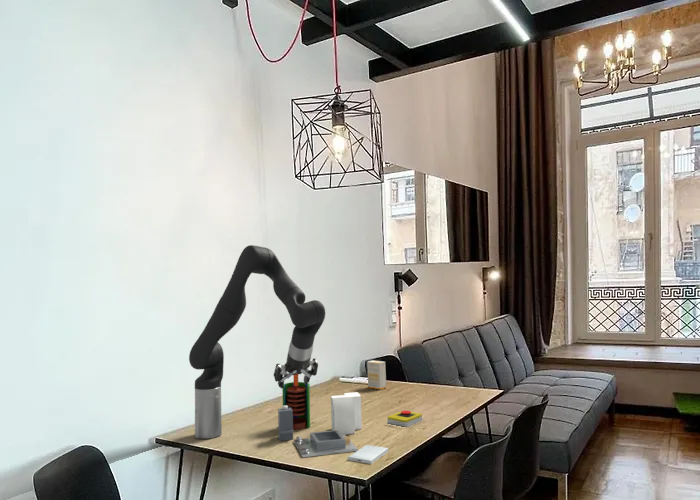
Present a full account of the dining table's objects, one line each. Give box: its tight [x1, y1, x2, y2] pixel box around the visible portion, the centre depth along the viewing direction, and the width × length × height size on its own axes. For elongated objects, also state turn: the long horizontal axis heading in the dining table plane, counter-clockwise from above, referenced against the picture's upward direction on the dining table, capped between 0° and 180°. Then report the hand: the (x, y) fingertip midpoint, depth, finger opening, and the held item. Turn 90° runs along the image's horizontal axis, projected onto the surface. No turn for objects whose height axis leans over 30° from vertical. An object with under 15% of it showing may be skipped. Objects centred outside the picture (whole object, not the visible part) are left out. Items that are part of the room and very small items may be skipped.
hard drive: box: [347, 444, 389, 465], centre depth 169 cm, size 2×8×12 cm
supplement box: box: [366, 359, 387, 391], centre depth 265 cm, size 8×5×13 cm, turn 46°
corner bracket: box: [330, 391, 363, 435], centre depth 197 cm, size 11×11×12 cm
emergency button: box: [386, 410, 423, 428], centre depth 204 cm, size 9×4×15 cm
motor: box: [281, 374, 311, 431], centre depth 202 cm, size 10×9×20 cm
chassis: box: [293, 429, 359, 458], centre depth 178 cm, size 18×16×3 cm
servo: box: [277, 405, 294, 442], centre depth 188 cm, size 4×6×11 cm
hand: (293, 384), depth 181 cm, fingers open, 8 cm apart
